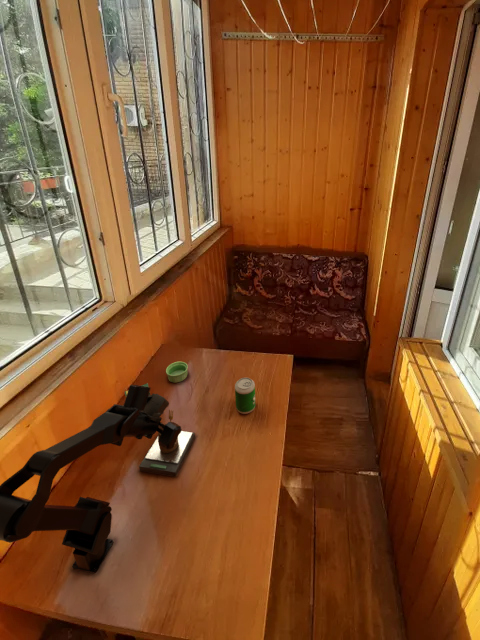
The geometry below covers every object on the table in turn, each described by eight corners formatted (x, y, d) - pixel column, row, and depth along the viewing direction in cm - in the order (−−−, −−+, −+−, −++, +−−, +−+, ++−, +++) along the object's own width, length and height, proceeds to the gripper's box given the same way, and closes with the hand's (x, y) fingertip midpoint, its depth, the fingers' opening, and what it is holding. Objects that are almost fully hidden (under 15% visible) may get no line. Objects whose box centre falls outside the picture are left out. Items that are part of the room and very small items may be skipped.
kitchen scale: (176, 476, 95) (175, 471, 94) (139, 471, 97) (138, 465, 96) (195, 436, 108) (194, 431, 107) (163, 432, 110) (162, 426, 109)
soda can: (252, 417, 116) (251, 392, 112) (233, 413, 117) (231, 388, 113) (258, 401, 123) (257, 377, 119) (240, 398, 124) (238, 374, 120)
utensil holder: (155, 451, 100) (150, 423, 96) (168, 434, 106) (163, 407, 102) (170, 456, 99) (166, 428, 94) (182, 439, 104) (179, 412, 100)
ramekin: (167, 371, 139) (166, 363, 137) (188, 367, 141) (187, 359, 140) (166, 385, 131) (165, 377, 129) (188, 381, 133) (187, 373, 132)
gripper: (172, 408, 87) (203, 410, 100) (128, 384, 95) (162, 389, 108) (152, 451, 83) (187, 448, 96) (109, 423, 91) (146, 423, 104)
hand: (170, 425), depth 101 cm, fingers open, 9 cm apart
